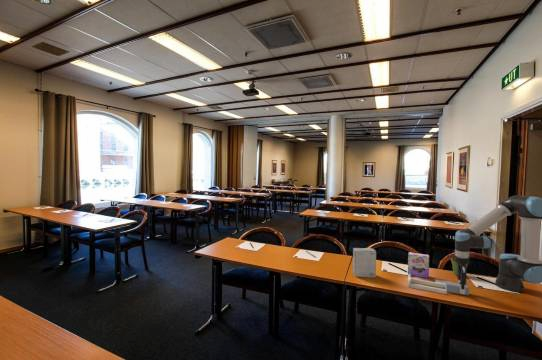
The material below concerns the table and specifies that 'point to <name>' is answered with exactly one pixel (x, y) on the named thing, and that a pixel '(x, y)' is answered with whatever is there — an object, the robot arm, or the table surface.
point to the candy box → (418, 265)
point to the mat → (441, 281)
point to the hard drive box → (364, 262)
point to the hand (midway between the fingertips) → (461, 291)
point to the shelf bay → (426, 286)
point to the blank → (455, 288)
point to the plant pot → (456, 266)
